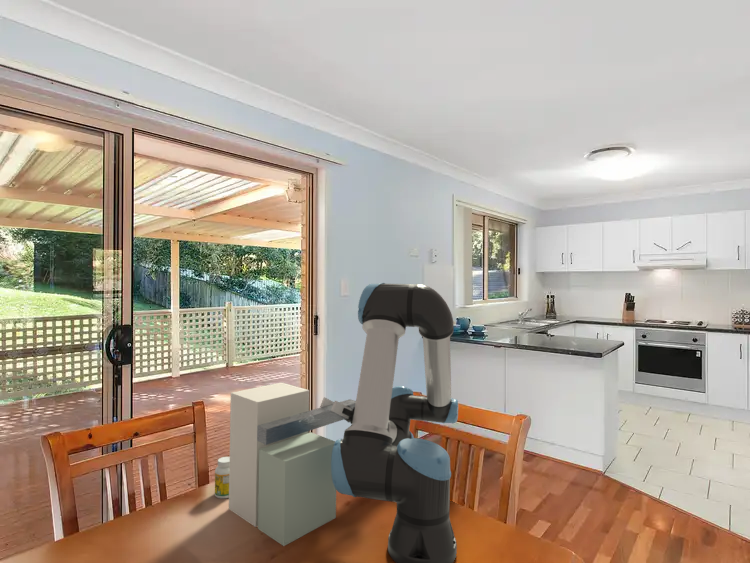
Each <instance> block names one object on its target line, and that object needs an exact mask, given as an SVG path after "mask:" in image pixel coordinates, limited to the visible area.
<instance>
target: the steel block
mask: <svg viewBox="0 0 750 563" xmlns="http://www.w3.org/2000/svg"><path fill="white" fill-rule="evenodd" d="M338 402H339V403H341V404H343V405H345V406H347V407H349V408H351V409H352V410H351V411H353V408H354V407H355V404H356V400H354V399H351V398H350V399H345V400H343V401H338ZM332 407H333V404H331V405H328V406H324V407H321V408H320V407H318V408H314V409H309V411H307V412H303V413H300V414H296V415H293V416H289V417H286V418H282V419H279V420H275V421H272V422H268V423H264V424H261V425H257V441H259V442H261V443H263V444H265V445H268V444H271V443H274V442H277V441H280V440H283V439H286V438H289V437H292V436H295V435H298V434H301V433H304V432H307V431H309V432H310V431H313V430H317V429H318V428H322V427H325V426H328V425H331V424H334V423H337V422H340V421H343V420H344V419H347V418H345V417H343V416H341V415H339V414H337V413H335V412H332V411H331V409H332ZM349 418H350V417H349ZM344 421H345V420H344Z"/></svg>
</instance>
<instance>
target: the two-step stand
mask: <svg viewBox="0 0 750 563" xmlns="http://www.w3.org/2000/svg"><path fill="white" fill-rule="evenodd" d="M307 411H310V390H309V389H306V388H303V387H300V386H295V385H292V384H288V383H285V382H277V383H271V384H268V385H263V386H258V387H252V388H247V389H243V390H238V391H233V392H230V414H229V416H230V417H229V418H230V419H229V420H230V422H229V457H230V463H229V498H228V510H230V511H231V512H232V513H234V514H236V515H237V516H239V517H240V518H242V520H244V521H246V522H247V523H249V524H251V525H252V526H253V527H255V528H256V527H257V529H258V530H259V531H260V532H262V533H263V534H265V535H266V536H267V537H269V538H271V539H272V540H274V541H276V542H277V543H278V544H280V545H281V546H283V547H285V546H287V545H288V544H291V543H293V542H294V541H297V540H298V539H299V538H301V537H303V536H305V535H307V534H309V533H311V532H313V531H314V530H316V529H318V528H320V527H322V526H323V525H325V524H327V523H329V522H331V521H333V520H334V519H336V517H337V490H336V489H335V487H334V484H333V481H332V475H331V456H332V449H333V447H334V443H335V441H336V440H332V439H330V438H327V437H324V436H322V435H319V434H316V433H314V432H310V431H307V432H304V433H301V434H298V435H295V436H292V437H289V438H286V439H283V440H280V441H277V442H274V443H271V444H268V445H265V444H263V443H261V442H259V441H257V425H261V424H264V423H268V422H272V421H275V420H279V419H282V418H286V417H289V416H293V415H296V414H300V413H303V412H307Z"/></svg>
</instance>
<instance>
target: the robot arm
mask: <svg viewBox="0 0 750 563" xmlns="http://www.w3.org/2000/svg"><path fill="white" fill-rule="evenodd" d="M357 309H358V310H357V319H358V322H359V323H360V324H361V325H362V326H361V327H362V330H363V331H364V332H365V333H366V337H365V344H364V348H363V349H364V350H363V356H362V362H361V368H360V373H359V378H358V379H359V380H358V387H357V393H356V400H355V401H356V404H355V407H354V408H353V411H351V410H352V409H351V408H349V407H347V406H345V405H343V404H341V403H339V402H340V401H338V400H334V401H333V400H331V399H329V398H327V397H323V398H322V400H321V403H320V406H319V408H321V407H324V406H328V405H331V404H333V407H332V409H331V411H332V412H335V413H337V414H339V415H341V416H343V417H345V418H347V419H344V421H346V422H347V423H350V424H351V425H350V426H348V427H347V428H346V429H344V431H343V432H344V433H343V438H338V439H336V440H334V441H335V443H334V447H333V449H332V456H331V475H332V481H333V484H334V487H335V489H336V492H338V493H339V494H341V495H347V496H351V497H353V498H363V499H364V498H365V499H371V500H377V501H378V500H379V501H386V502H393V503H396V514H395V516H394V521H393V523H392V524H393V525H392V528H391V530H390V532H389V533H388V539H387V551H388V555H389V556H390V558H391V559H392V560H393V561H394V562H395V563H454V562H455V561H456V559H455V558H457V555H456V554H457V551H458V550H457V549H458V547H457V546H458V544H457V539H456V537H455V532H454V529H453V525H452V523H451V518H450V500H451V499H450V490H451V488H450V487H451V486H450V485H451V483H450V482H451V480H450V479H451V478H452V471H451V458H450V455H449V453H448V451H447V450H446V449H445V448H443V447H442V446H441V445H439V444H438V443H436V442H434V441H431V440H427V439H425V438H418V437H414V434H413V433H412V431H411V430H410V426H411V420H413V421H423V422H431V423H440V424H456V423H457V422H458V418H459V400H458V399H457V398H453V397H452V375H451V374H452V371H451V370H452V368H451V367H452V366H451V365H452V364H451V363H452V362H451V336H452V335H453V333H454V328H455V327H454V318H453V314H452V311H451V310H450V307H449V306H448V303H447V302H446V301H445V298H443V296H442V295H441V294H440V293H439V292H438V291H436V289H433V288H432V287H430V286H428V285H425V284H421V283H414V284H413V283H385V282H379V283H369V284H367V285H366V286H365V287H364V288H363V290H362V292H361V294H360V297H359V300H358V305H357ZM406 327H407V328H415V327H416V328H418V333H419V335H420V336H421V337H422V344H423V359H424V360H423V361H424V362H423V363H424V374H425V376H424V377H425V390H426V395H415V394H414V390H412V389H411V388H410V387H406V386H394V379H395V371H396V363H397V355H398V350H399V348H398V347H399V340H400V338H402V337H403V336H405V334H406V329H407V328H406ZM349 417H350V418H349ZM454 560H455V561H454Z"/></svg>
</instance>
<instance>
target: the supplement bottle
mask: <svg viewBox="0 0 750 563" xmlns="http://www.w3.org/2000/svg"><path fill="white" fill-rule="evenodd" d="M229 463H230V456H222V457H219V458H217V466H216V468H215V469H214V496H215V497H216V498H218V499H222V500H223V499H229Z"/></svg>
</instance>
